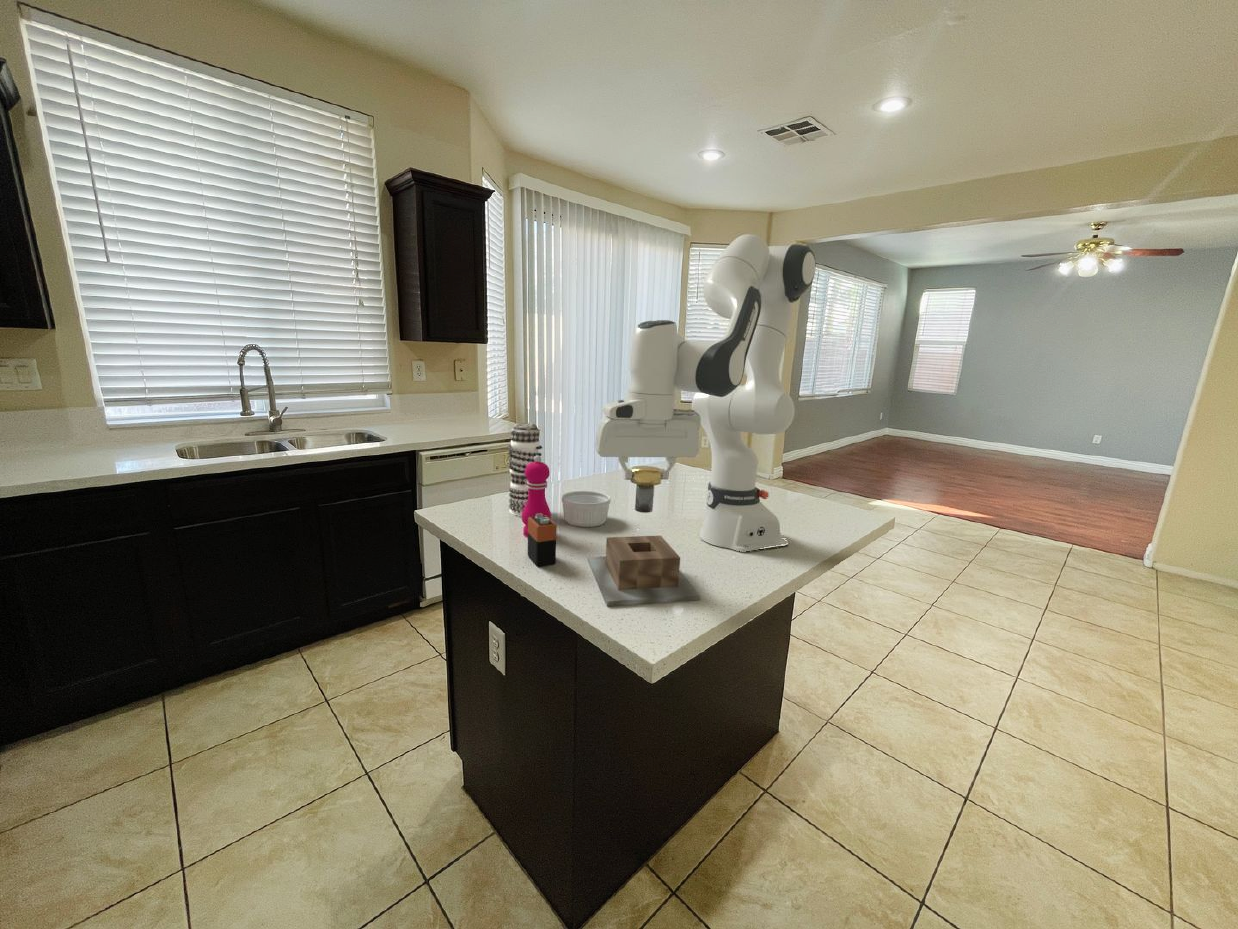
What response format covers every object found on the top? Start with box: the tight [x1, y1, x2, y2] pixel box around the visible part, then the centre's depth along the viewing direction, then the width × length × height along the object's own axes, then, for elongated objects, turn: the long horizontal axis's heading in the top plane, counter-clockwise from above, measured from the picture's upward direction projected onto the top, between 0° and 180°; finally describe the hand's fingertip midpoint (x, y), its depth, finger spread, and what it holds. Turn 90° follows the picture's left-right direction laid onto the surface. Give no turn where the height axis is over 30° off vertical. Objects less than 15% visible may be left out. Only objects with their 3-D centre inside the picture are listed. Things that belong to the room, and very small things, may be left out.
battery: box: [527, 514, 558, 567], centre depth 105 cm, size 4×7×10 cm, turn 28°
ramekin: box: [561, 490, 611, 528], centre depth 133 cm, size 13×13×7 cm
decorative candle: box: [507, 422, 543, 517], centre depth 136 cm, size 9×9×25 cm
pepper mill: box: [521, 455, 552, 538], centre depth 120 cm, size 7×7×20 cm
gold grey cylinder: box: [629, 465, 662, 514], centre depth 96 cm, size 6×6×8 cm
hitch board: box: [587, 535, 701, 607], centre depth 99 cm, size 18×20×7 cm
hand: (645, 479), depth 95 cm, fingers closed on gold grey cylinder, 6 cm apart
